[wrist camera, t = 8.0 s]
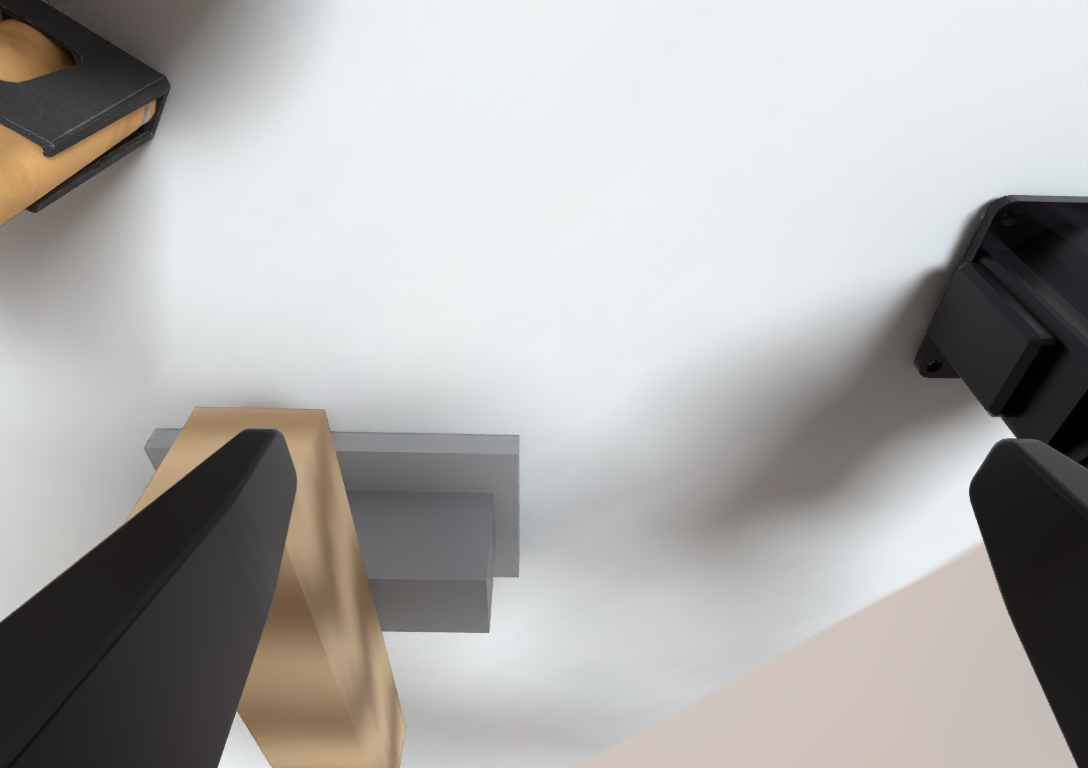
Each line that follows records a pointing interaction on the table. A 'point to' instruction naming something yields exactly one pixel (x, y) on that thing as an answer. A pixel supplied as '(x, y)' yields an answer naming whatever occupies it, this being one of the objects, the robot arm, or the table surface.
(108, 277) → the table surface
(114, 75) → the ammunition clip
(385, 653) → the beam
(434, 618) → the grey stepped block
